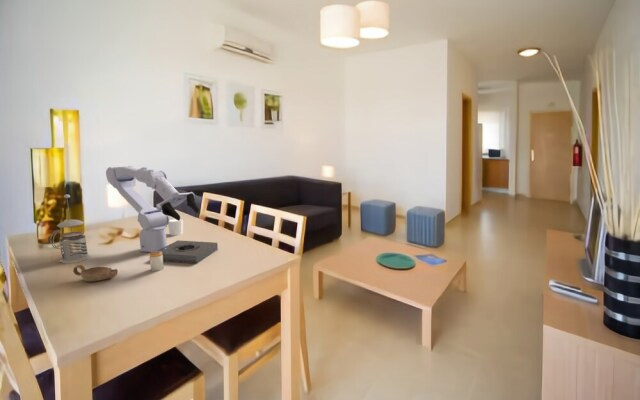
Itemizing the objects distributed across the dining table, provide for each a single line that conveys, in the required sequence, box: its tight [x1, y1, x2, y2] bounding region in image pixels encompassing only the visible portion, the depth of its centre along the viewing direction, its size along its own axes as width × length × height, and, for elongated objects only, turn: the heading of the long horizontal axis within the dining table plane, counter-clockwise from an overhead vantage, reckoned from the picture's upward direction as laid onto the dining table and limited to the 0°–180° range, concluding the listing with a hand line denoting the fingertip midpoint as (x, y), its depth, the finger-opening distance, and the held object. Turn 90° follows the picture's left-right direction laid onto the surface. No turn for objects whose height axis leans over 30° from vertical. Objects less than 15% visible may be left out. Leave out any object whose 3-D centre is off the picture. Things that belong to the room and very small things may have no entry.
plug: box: [148, 251, 164, 272], centre depth 111 cm, size 4×4×6 cm
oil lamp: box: [72, 264, 119, 283], centre depth 103 cm, size 13×8×5 cm, turn 91°
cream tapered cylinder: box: [167, 218, 184, 237], centre depth 154 cm, size 7×7×7 cm
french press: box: [49, 193, 92, 264], centre depth 118 cm, size 10×12×25 cm
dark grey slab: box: [157, 240, 219, 265], centre depth 125 cm, size 18×16×3 cm
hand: (188, 214), depth 118 cm, fingers open, 7 cm apart
